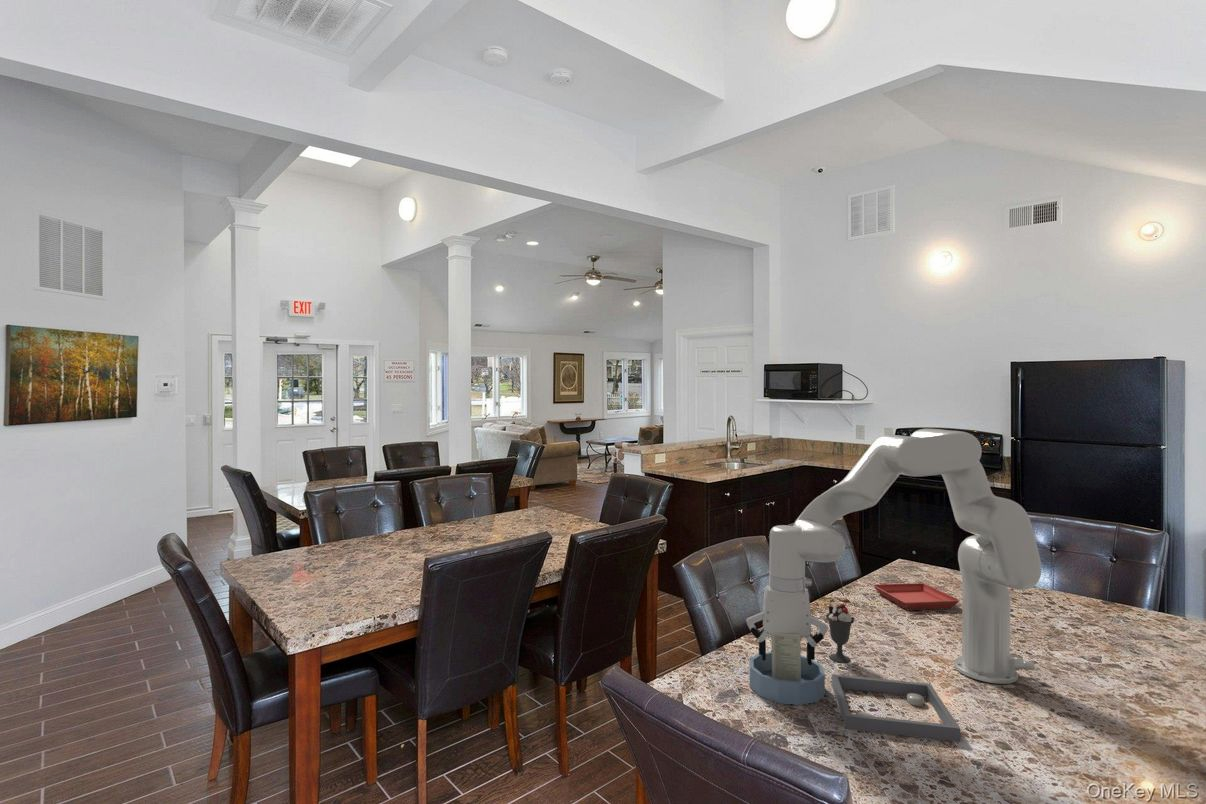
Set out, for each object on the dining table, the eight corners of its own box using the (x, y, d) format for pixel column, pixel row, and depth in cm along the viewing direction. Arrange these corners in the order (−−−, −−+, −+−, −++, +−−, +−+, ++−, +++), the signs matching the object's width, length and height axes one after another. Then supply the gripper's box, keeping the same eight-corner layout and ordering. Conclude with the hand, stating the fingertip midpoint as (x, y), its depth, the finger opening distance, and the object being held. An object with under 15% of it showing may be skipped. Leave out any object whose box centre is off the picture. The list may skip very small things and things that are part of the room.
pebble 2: (921, 700, 128) (921, 694, 128) (925, 708, 125) (925, 701, 125) (905, 698, 129) (905, 692, 129) (908, 706, 126) (908, 699, 126)
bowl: (818, 674, 140) (818, 655, 140) (828, 708, 124) (828, 686, 124) (749, 667, 143) (749, 648, 143) (750, 700, 128) (750, 678, 128)
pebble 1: (871, 719, 121) (871, 712, 121) (875, 728, 118) (875, 721, 118) (854, 717, 121) (854, 710, 121) (857, 726, 118) (857, 719, 118)
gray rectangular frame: (930, 695, 130) (930, 683, 130) (960, 742, 113) (960, 728, 113) (831, 685, 134) (831, 674, 134) (846, 728, 117) (846, 715, 117)
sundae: (857, 665, 144) (857, 603, 144) (827, 663, 146) (828, 601, 146) (851, 654, 151) (852, 594, 151) (823, 651, 152) (823, 592, 152)
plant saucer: (871, 593, 199) (871, 583, 199) (923, 592, 201) (923, 582, 201) (905, 613, 181) (905, 602, 181) (961, 611, 183) (961, 600, 183)
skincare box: (800, 681, 135) (801, 627, 135) (801, 690, 131) (801, 634, 131) (771, 677, 137) (771, 624, 137) (770, 686, 132) (771, 631, 132)
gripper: (825, 580, 135) (825, 656, 135) (746, 575, 139) (745, 649, 139) (830, 591, 128) (830, 671, 128) (746, 585, 132) (746, 663, 132)
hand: (786, 660), depth 134 cm, fingers open, 9 cm apart
